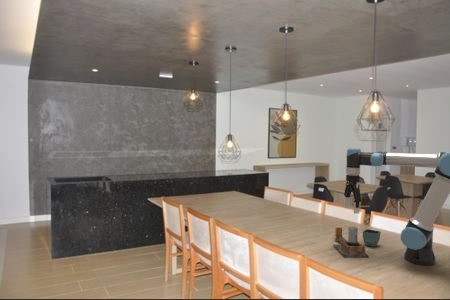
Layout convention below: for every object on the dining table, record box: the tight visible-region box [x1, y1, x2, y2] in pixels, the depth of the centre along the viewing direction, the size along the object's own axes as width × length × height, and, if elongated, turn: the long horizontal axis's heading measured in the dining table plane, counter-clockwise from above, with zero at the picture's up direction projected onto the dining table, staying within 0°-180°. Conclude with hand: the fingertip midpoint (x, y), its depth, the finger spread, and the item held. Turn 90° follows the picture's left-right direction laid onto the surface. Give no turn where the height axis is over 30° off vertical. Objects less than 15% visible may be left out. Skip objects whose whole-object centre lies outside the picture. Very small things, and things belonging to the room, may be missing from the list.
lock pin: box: [334, 226, 348, 242], centre depth 212 cm, size 4×20×9 cm, turn 1°
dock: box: [332, 239, 370, 259], centre depth 201 cm, size 14×19×6 cm
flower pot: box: [362, 228, 382, 248], centre depth 213 cm, size 9×9×9 cm
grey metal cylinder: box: [347, 226, 359, 246], centre depth 197 cm, size 5×5×14 cm
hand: (351, 210), depth 199 cm, fingers open, 13 cm apart
